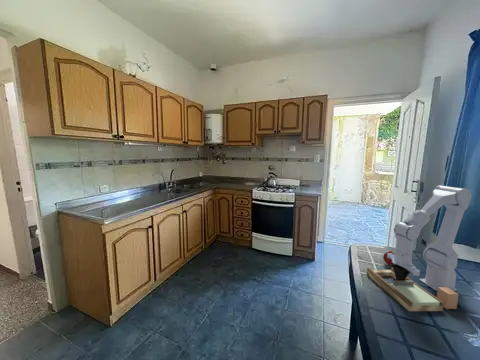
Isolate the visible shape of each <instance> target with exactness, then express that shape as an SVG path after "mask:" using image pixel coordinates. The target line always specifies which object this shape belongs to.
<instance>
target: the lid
mask: <svg viewBox="0 0 480 360" xmlns="http://www.w3.org/2000/svg"><path fill="white" fill-rule="evenodd" d="M414 282H415V281H414ZM414 282H413V279H411V280H396V279H395V280H392V283H389V284H390V285H391V286H393V287H394V288H395V289H396V290H397V291H399V292H400V293H401V294H402V295H403V296H405V297H406V298H407V299H408V300H410V301H411V302H412V303H413V304H412V306H424V305H440V302H439V301H437V300H436V299H435V298H433V297H432V296H430V295H429V294H427V293H426V292H425V291H423V290H422V289H420V288H419V287H418V286H416V285H415V284H414Z"/></svg>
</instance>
